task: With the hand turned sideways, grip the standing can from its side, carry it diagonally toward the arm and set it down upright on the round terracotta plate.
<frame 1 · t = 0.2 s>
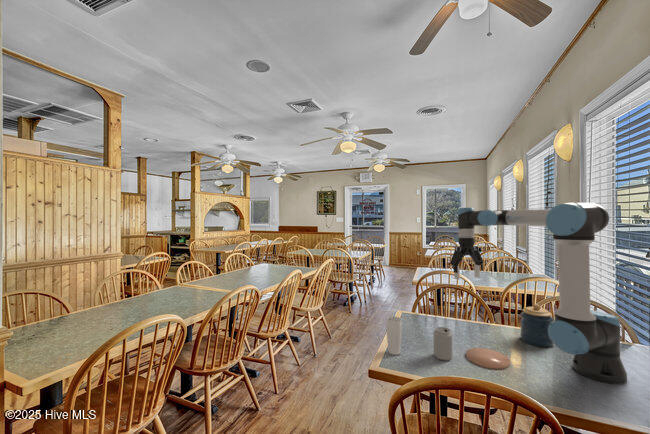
hand: (467, 278, 152), 27 cm above the table, tool pointing down, fingers open, 13 cm apart
can: (443, 357, 125), on the table
drinking glass: (394, 353, 129), on the table
canister: (536, 341, 139), on the table
terracotta plate: (487, 359, 122), on the table
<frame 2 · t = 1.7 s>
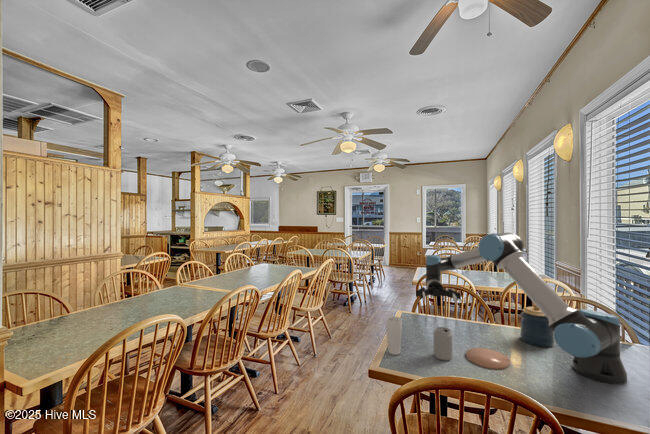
hand: (439, 299, 134), 22 cm above the table, tool horizontal, fingers open, 13 cm apart
nothing on the table moved.
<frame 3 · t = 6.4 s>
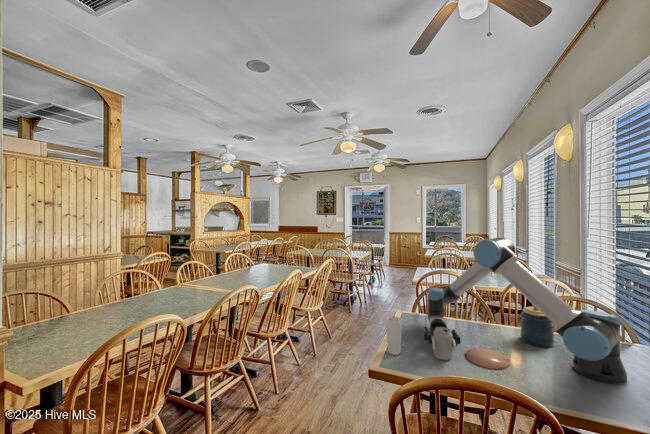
hand: (444, 347, 120), 7 cm above the table, tool horizontal, fingers closed on can, 7 cm apart
can: (443, 357, 125), on the table, touching gripper
everything else where it was.
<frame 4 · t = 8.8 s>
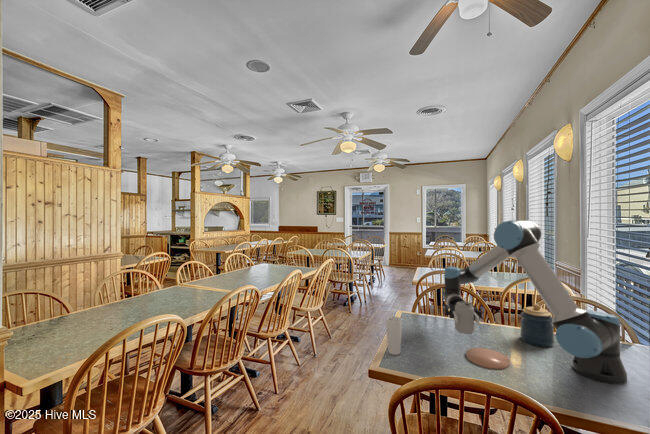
hand: (467, 320, 119), 18 cm above the table, tool horizontal, fingers closed on can, 7 cm apart
can: (464, 331, 124), point 11 cm above the table, touching gripper
everything else where it was.
when the fingers open (8 cm above the table, at t = 11.6 s): can stays where it is, resting on terracotta plate.
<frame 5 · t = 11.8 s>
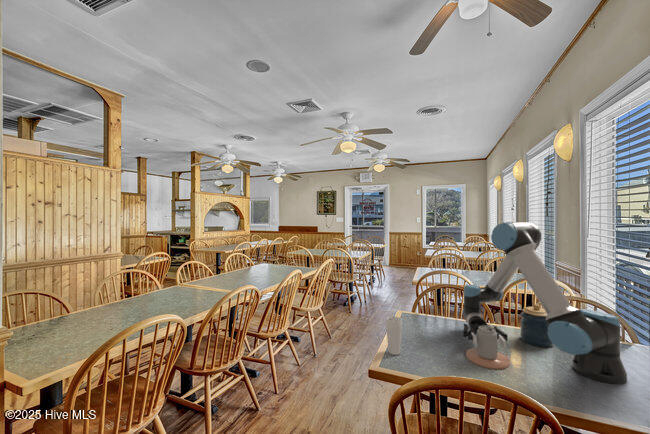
hand: (490, 343, 118), 8 cm above the table, tool horizontal, fingers open, 10 cm apart
can: (487, 356, 123), point 1 cm above the table, touching terracotta plate
everything else where it was.
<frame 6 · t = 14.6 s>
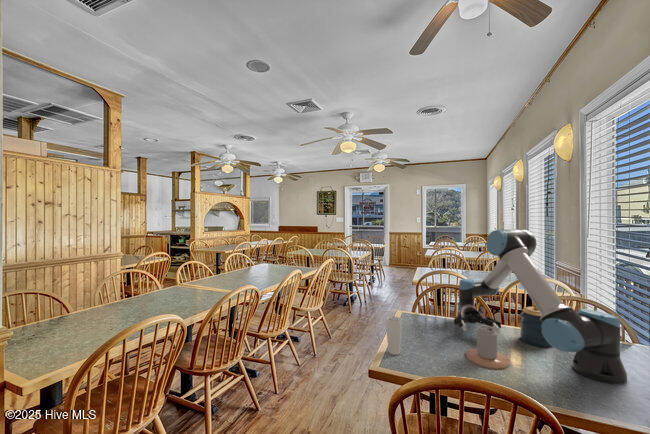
hand: (481, 329, 132), 9 cm above the table, tool horizontal, fingers open, 13 cm apart
nothing on the table moved.
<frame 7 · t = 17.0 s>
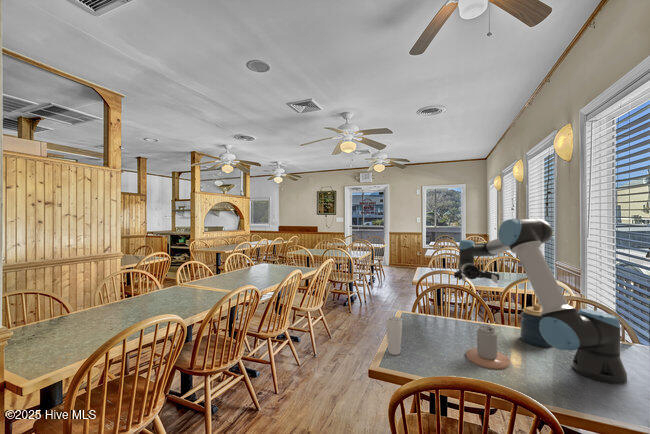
hand: (480, 279, 137), 30 cm above the table, tool horizontal, fingers open, 13 cm apart
nothing on the table moved.
at the end: can inside the target area on the terracotta plate (0.1 cm from its centre), point 0.8 cm above the terracotta plate's base; can tilted 0°; the gripper is holding nothing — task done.
